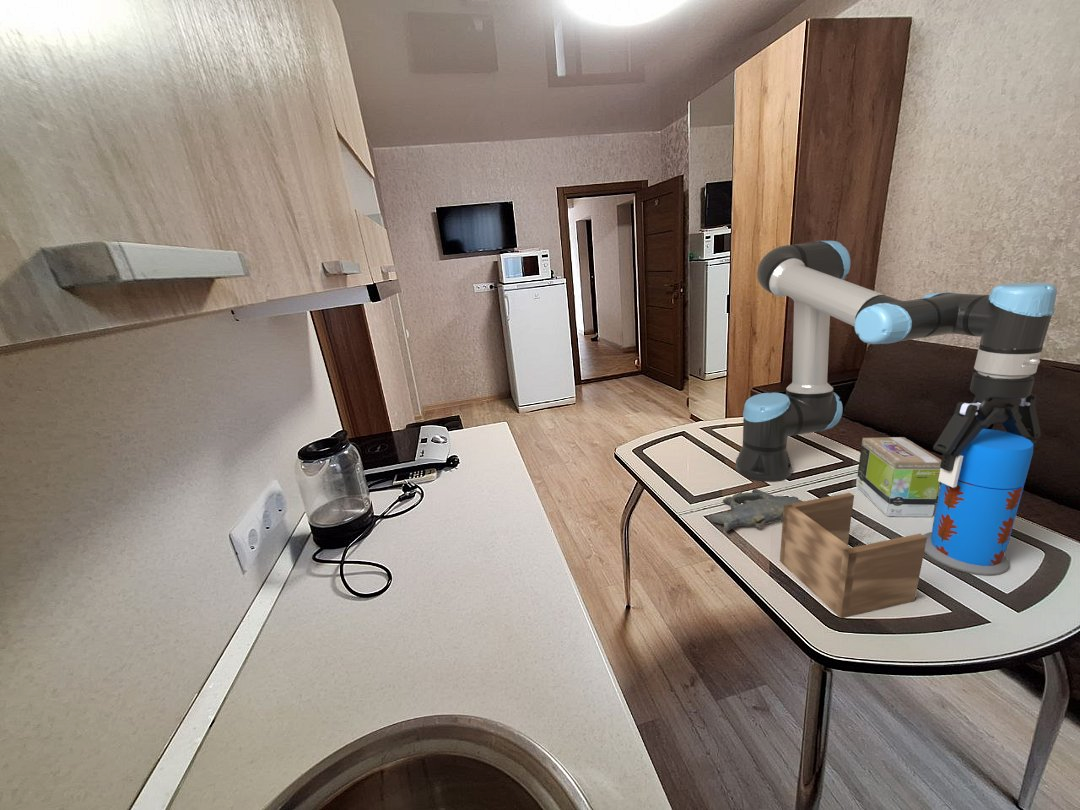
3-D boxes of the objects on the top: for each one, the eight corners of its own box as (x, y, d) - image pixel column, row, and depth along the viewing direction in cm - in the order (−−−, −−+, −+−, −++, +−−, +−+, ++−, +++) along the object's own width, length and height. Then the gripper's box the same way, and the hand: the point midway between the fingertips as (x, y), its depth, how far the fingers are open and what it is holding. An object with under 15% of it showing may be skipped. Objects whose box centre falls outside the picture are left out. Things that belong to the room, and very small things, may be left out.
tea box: (935, 518, 98) (946, 461, 93) (885, 517, 100) (894, 462, 95) (896, 485, 112) (905, 435, 107) (854, 486, 114) (860, 436, 109)
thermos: (916, 537, 91) (936, 432, 84) (961, 529, 92) (985, 424, 84) (969, 570, 81) (997, 454, 73) (1020, 562, 81) (1053, 445, 74)
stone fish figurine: (818, 499, 102) (772, 479, 116) (727, 520, 97) (691, 496, 111) (818, 518, 102) (772, 495, 117) (728, 540, 98) (692, 514, 112)
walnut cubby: (779, 561, 90) (783, 505, 86) (842, 548, 92) (849, 492, 88) (840, 618, 75) (849, 553, 71) (914, 601, 77) (927, 537, 72)
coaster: (903, 540, 92) (903, 537, 91) (955, 530, 93) (955, 526, 93) (969, 581, 79) (970, 578, 79) (1027, 568, 81) (1028, 564, 80)
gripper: (965, 389, 70) (941, 498, 76) (1091, 367, 72) (1057, 475, 79) (920, 378, 77) (902, 479, 83) (1036, 359, 79) (1009, 459, 86)
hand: (977, 478), depth 81 cm, fingers open, 13 cm apart
